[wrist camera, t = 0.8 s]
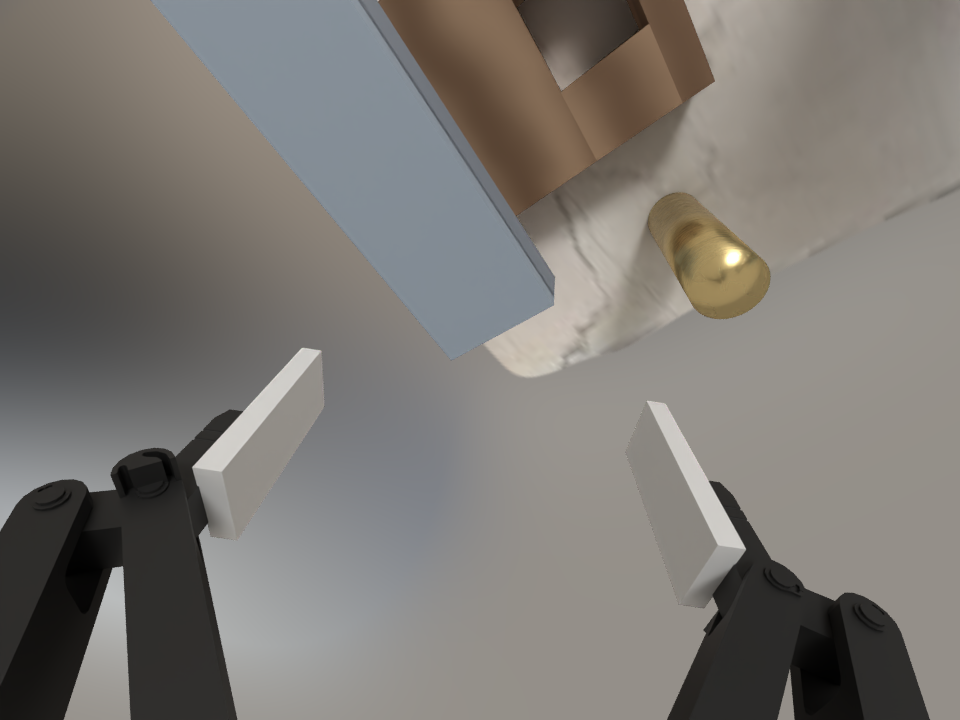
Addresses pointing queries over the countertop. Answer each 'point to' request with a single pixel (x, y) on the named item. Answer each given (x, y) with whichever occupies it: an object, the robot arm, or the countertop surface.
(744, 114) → the countertop surface
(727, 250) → the peg
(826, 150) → the countertop surface
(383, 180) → the blue-grey hooked bracket
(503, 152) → the socket block
